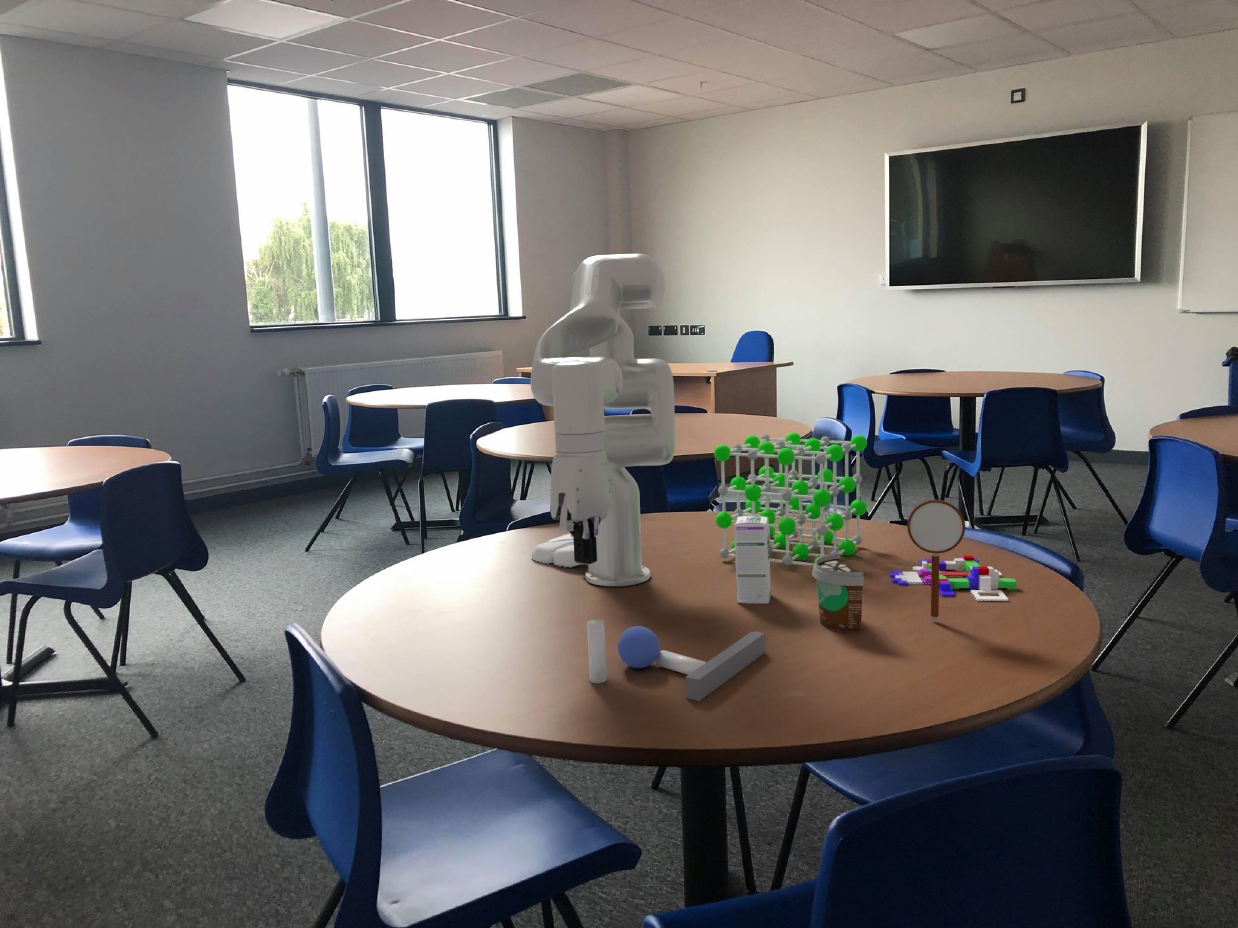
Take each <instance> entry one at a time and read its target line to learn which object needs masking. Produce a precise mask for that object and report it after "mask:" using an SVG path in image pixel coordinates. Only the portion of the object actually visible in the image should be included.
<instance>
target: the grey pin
mask: <svg viewBox="0 0 1238 928" xmlns="http://www.w3.org/2000/svg"><path fill="white" fill-rule="evenodd" d="M586 629H587V630H586V632H587V650H588V656H587V657H588V672H589V676H588V677H589V682H590V683H592V684H603V683H605V682H607V681H608V680H607V678H608V677H607V659H606V658H607V656H606V633H605V621H604V620H603V619H597V618H596V619H595V618H594V619H590V620H587V622H586Z"/></svg>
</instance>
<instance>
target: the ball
mask: <svg viewBox="0 0 1238 928" xmlns="http://www.w3.org/2000/svg"><path fill="white" fill-rule="evenodd" d="M617 651H618V655H619V656H620V659H621V660H622V662H623V663H625V664H626V665H627V666H629V667H630V668H633V669H644V668H646V667H649V666H651V665H652V664H653V663H654V662H655V661H656V660H657V656H658V654H659V652H660V643H659V639H658V637H657V635H656V634H655V632H653V631H652V630H651V629H649V628H648V627H645V626H641V625H636V626H632V627H629V628H628V629H626V630H624V632H622V633H621V635H620V637H619V640H618V643H617Z"/></svg>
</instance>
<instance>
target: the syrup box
mask: <svg viewBox="0 0 1238 928" xmlns="http://www.w3.org/2000/svg"><path fill="white" fill-rule="evenodd" d="M734 521H735V523H733V528H734V533H733V534H734V539H735V552H734V554H735V557H734V559H735V561H734V563H735V582H736V583H735V585H736V586H735V587H736V588H735V589H736V590H735V591H736V603H740V604H754V605H755V604H756V605H757V604H759V605H760V604H765V605H766V604H767V605H768V604H769V603H770V599H771V594H772V591H771V589H772V587H771V586H772V585H771V581H772V580H771V561H770V559H771V553H770V549H769V521H768V517H766V516H741V517H737V518H735V520H734Z"/></svg>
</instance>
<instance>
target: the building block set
mask: <svg viewBox="0 0 1238 928" xmlns="http://www.w3.org/2000/svg"><path fill="white" fill-rule="evenodd" d="M931 562H932V558H924V559H920V560H919V564H920V563H921V564H922V566H918V565H917V566H912V570H914V571H918V572H914V571H903V570H901V569H899V570H897V569H895V570H892V572H889V573H888V576H889V578H891V577H892V578H891V582H892V583H893V584H897V585H898V584H899V585H898V586H900V585H908V586H909V585H931V584H930V583H931V576H928V575H931ZM979 563H980V561H979V559H978V558H977V557H976V558H975V557H974V555H961V557H957V558H956V557H955V558H953V560H944V561H943V560H942V561H941V560H939V592H940V593H939V595H940V594H941V595H942V596H955V597H956V593H955V592H954V590H952V589H968V588H969V589H978V588H979V590H970V594H971V593H972V594H973V595H974V597H975V598H976V599H975V598H974V597H973V598H974V599H975V601H976V600H977V601H983V600H984V601H991V600H992V601H1001V600H1002V601H1006V600H1007V601H1009V598H1008V597H1007V596H1006V595H1005V593H1004V592H1003V590H1001V589H1006V588H1009V589H1016V590H1017V580H1016V579H1015V578H1004V577H999V575H1002V576H1003V574H1002V573H1001V572H1000V571H999V570H998V569H994V567H993V566H981V565H980V564H979ZM921 564H920V565H921ZM947 570H954V571H947ZM940 571H946V572H940ZM955 571H965V572H955ZM919 576H925V577H924V578H921V577H919ZM946 576H967V577H951V578H948V577H946ZM893 577H894V578H893ZM919 583H920V584H919ZM923 583H924V584H923ZM926 583H927V584H926ZM928 583H929V584H928ZM992 588H993V589H995V588H997V589H998V588H999V590H991V589H992ZM969 589H968V590H969ZM978 593H997V594H998V595H999V596H998V595H997V594H996V595H981V594H978ZM972 594H971V595H972ZM941 595H940V596H941ZM973 595H972V596H973ZM942 596H941V597H942ZM977 601H976V602H977Z"/></svg>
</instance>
